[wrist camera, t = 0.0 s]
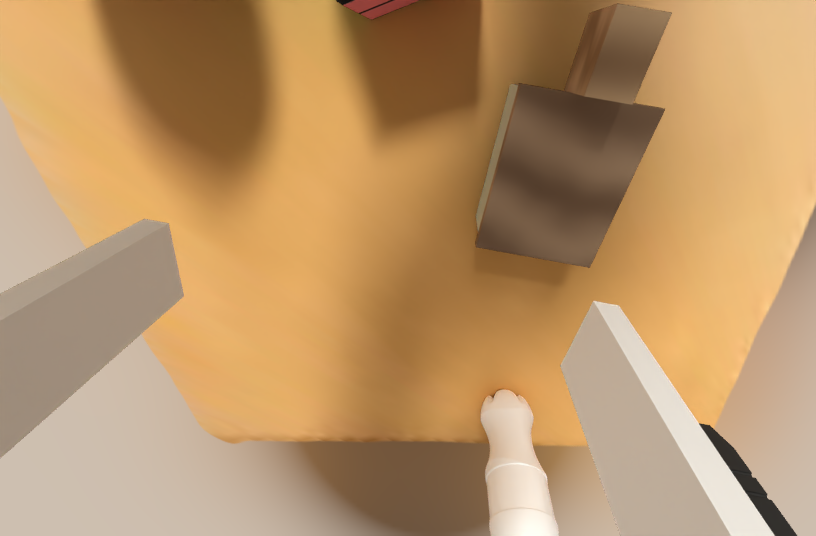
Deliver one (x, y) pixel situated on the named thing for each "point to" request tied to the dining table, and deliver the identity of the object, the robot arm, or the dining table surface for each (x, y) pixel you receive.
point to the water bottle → (515, 470)
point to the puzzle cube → (374, 6)
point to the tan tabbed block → (575, 144)
